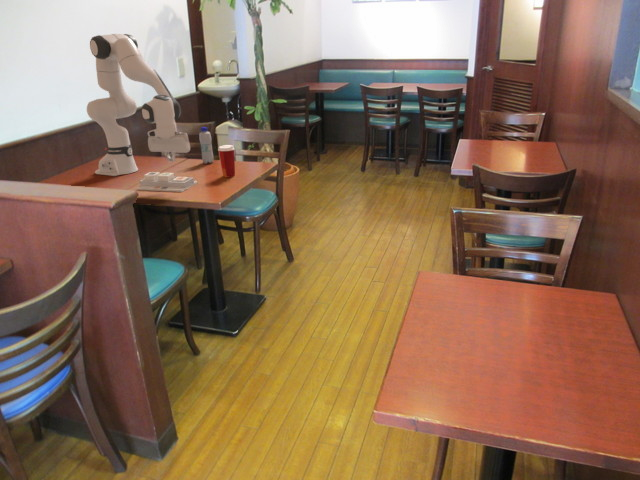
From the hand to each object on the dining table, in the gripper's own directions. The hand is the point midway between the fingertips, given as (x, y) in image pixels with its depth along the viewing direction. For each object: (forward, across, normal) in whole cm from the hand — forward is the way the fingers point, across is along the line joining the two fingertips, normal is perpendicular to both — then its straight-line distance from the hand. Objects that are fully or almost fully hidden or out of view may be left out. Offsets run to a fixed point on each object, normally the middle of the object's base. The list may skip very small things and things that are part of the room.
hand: (171, 161), depth 240 cm
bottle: (+13, +6, -46) cm, 48 cm away
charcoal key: (+10, +11, 0) cm, 15 cm away
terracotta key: (+11, -4, 0) cm, 12 cm away
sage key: (+9, +4, 0) cm, 10 cm away
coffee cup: (+12, -18, -22) cm, 31 cm away
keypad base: (+12, +4, 0) cm, 13 cm away
